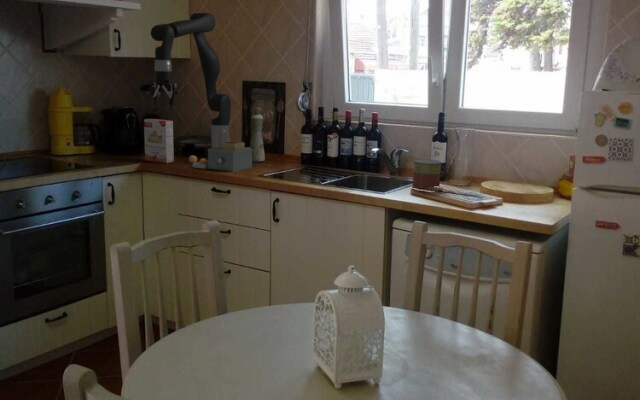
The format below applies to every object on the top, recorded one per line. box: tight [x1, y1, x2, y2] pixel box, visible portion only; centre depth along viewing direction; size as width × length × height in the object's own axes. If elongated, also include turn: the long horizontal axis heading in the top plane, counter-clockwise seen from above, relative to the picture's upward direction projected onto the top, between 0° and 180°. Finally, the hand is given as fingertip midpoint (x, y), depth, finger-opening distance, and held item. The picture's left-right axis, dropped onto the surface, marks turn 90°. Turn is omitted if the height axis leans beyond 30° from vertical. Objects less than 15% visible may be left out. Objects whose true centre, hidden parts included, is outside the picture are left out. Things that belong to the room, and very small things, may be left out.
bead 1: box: [188, 154, 198, 164], centre depth 327 cm, size 4×4×4 cm
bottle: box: [249, 106, 266, 163], centre depth 337 cm, size 9×9×28 cm
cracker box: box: [143, 118, 175, 164], centre depth 329 cm, size 14×6×21 cm, turn 62°
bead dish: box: [192, 161, 208, 170], centre depth 314 cm, size 7×7×2 cm
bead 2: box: [198, 158, 208, 164], centre depth 314 cm, size 4×4×4 cm
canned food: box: [411, 158, 442, 189], centre depth 275 cm, size 11×11×12 cm
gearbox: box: [207, 140, 253, 174], centre depth 311 cm, size 18×14×12 cm
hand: (164, 106), depth 305 cm, fingers open, 8 cm apart
